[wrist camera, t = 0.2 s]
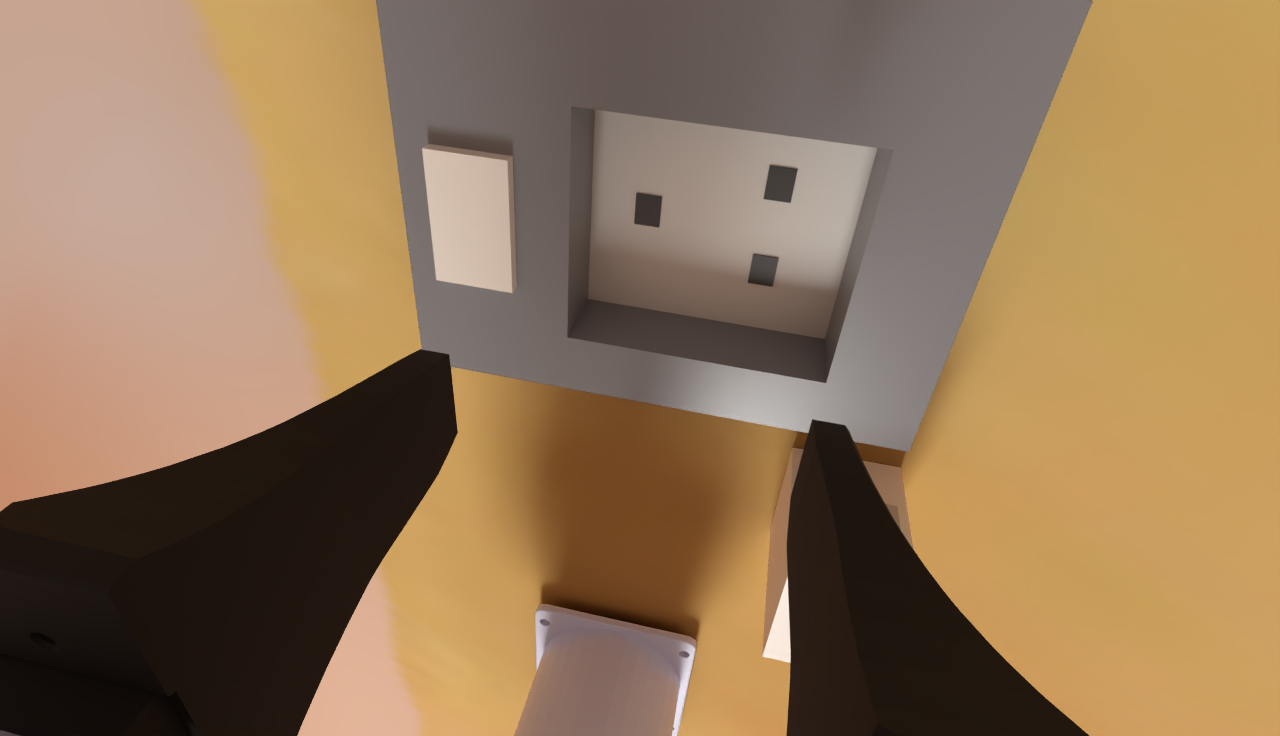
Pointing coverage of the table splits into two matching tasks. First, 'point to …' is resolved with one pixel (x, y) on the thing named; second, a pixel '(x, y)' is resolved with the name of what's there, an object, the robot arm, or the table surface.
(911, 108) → the socket plate
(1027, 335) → the table surface
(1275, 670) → the table surface
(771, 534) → the plug
